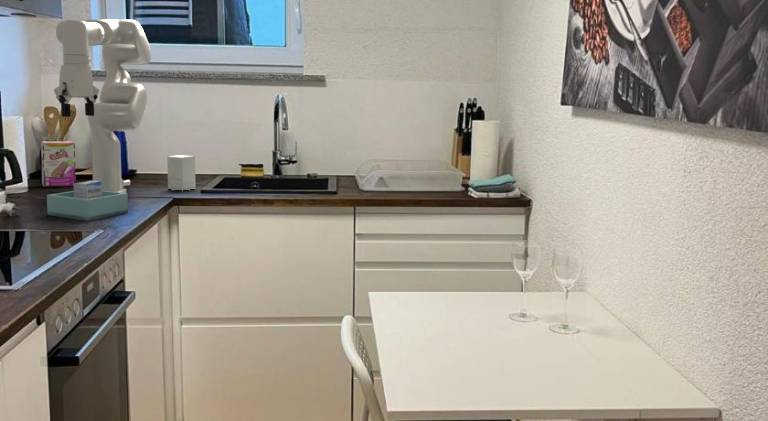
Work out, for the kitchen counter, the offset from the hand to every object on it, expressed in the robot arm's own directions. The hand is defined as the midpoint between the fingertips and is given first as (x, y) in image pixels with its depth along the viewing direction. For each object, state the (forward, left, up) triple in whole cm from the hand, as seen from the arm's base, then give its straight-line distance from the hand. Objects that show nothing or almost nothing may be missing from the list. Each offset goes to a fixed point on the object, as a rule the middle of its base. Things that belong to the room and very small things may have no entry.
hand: (78, 116), depth 238 cm
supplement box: (-44, +5, -28) cm, 53 cm away
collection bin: (+11, +14, -28) cm, 33 cm away
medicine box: (+11, +14, -28) cm, 33 cm away
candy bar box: (-25, -36, -28) cm, 52 cm away
